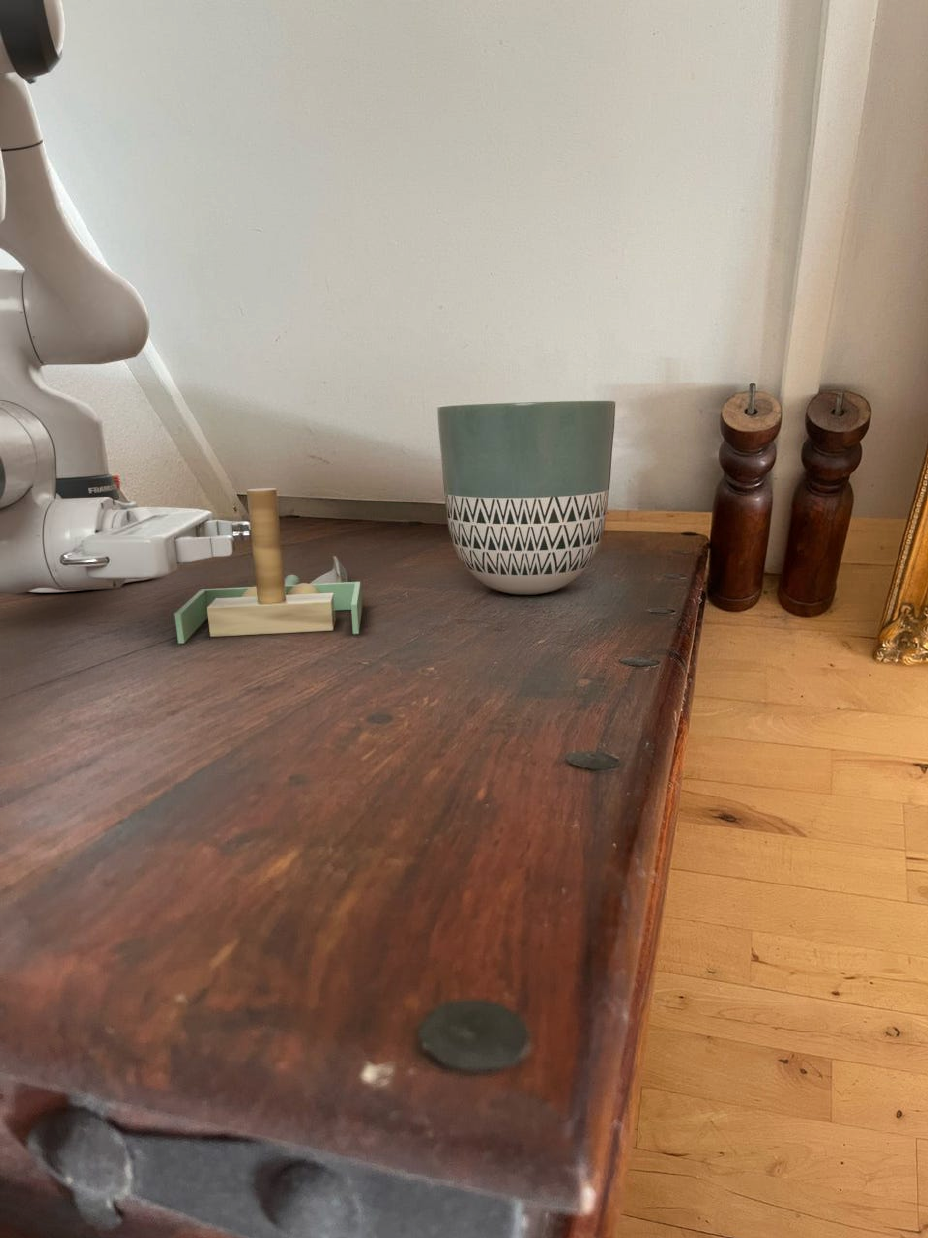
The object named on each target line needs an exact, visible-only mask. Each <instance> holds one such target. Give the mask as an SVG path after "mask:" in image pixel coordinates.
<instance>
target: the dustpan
mask: <svg viewBox="0 0 928 1238" xmlns="http://www.w3.org/2000/svg"><path fill="white" fill-rule="evenodd" d="M298 584H301V582H300V579H299V577H298V576H297V575H295V574H289V575H287V576H285V588H286V595H288V593H289V591H290V590H291V589H292V588H293V587H294V586H296V585H298ZM309 584H310V583H309ZM310 585H313V586H314V587H315V588H316V589H317V590H318V591H319V593H334V602H335V611H350V613H351V614H350V615H351V630H352V635H359V634H360V627H361V619H362V611H363V602H362V601H363V600H362V586H361V581H348V582H344V583H324V584H310ZM251 587H252V586H246V587H245V586H244V587H243V586H242V587H226V588H225V587H224V588H223V587H222V588H221V587H220V588H203V589H200V590H198V591H197V592H196V593H195V594H194V595H193V596H192V597H191V598H190V599H189V600H188V601H186V603H184V604H183V605H182V606H181V607H180V608H179V609H178V610H176V612H174V613H173V616H174V621H175V622H174V624H175V631H176V632H175V633H176V639H177V644H178V645H182V644H185V643H187V641H188V640H189V639H190V638H191V636H193V634H194V633H196V632H197V630H198V629H199V628H200V627H201V626H202V625H203V624H204V622H205V621H206V620H208V615H207V607H208V606H209V605H210V604H211V603H212V602H213V601H214V600H215V599H216V598H234V597H242V595H243V593H244V592H245V591H246V590H247V589H249V588H251Z"/></svg>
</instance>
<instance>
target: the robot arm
mask: <svg viewBox="0 0 928 1238" xmlns="http://www.w3.org/2000/svg"><path fill="white" fill-rule="evenodd" d="M63 7H64V6H63V3H62V0H0V249H1V250H2V251H4V252H6V253H7V254H9V256H11V257H12V258H14V259H15V260H16V261H17V262H18V263H19V264H20V265H21V267H22V268H23V269H5V268H0V594H1V595H2V594H22V593H67V592H78V591H89V590H90V591H91V590H94V591H95V590H112V589H113V590H114V589H120V588H121V587H122V586H123V585H124V584H126V583H127V584H128V583H134V582H140V581H146V580H151V579H157V578H163V577H167V576H170V575H171V574H172V573H174V572H175V571H177V570H178V569H179V568H181V567H182V566H183V565H185V564H186V563H193V562H197V561H202V560H206V559H211V558H225V557H230V556H231V555H233V554H234V553H235V551H236V546H235V542H238V541H248V540H249V539H251V529H250V521H246V520H245V521H233V520H232V521H231V520H225V519H223V520H222V519H215V518H214V514H213V512H212V511H210V510H206V509H202V508H201V509H200V508H192V507H189V508H188V507H168V506H138V503H137V501H134V500H133V501H132V500H131V501H130V500H129V501H127V500H125V501H119V500H120V495H119V490H120V489H121V480H120V478H119V475H117V474H115V475H112V474H111V473H110V467H109V462H108V456H107V448H106V442H105V435H104V428H103V423H102V419H101V418H100V416H99V415H98V413H97V412H96V411H95V409H93V407H91V406H90V405H89V404H87V403H86V402H84V401H82V400H80V399H78V398H77V397H74V396H72V395H70V394H67V393H65V392H62V391H60V390H58V389H54V388H53V387H52V386H50V385H49V384H48V382H47V380H46V378H45V377H44V374H43V371H42V367H43V366H57V365H58V366H61V365H62V366H63V365H64V366H65V365H66V366H70V365H71V366H73V365H74V366H75V365H105V364H110V363H116V362H120V361H124V360H129V359H133V358H136V357H137V356H138V355H139V354H141V352H142V351H143V349H144V347H145V346H146V344H147V341H148V338H149V335H150V317H149V313H148V309H147V306H146V304H145V302H144V300H143V298H142V296H141V295H140V293H139V292H138V290H137V289H136V288H135V287H134V286H133V285H132V283H130V282H129V281H128V280H127V279H125V278H124V277H122V276H121V275H119V274H117V273H116V272H114V271H113V270H112V269H110V268H109V267H108V266H106V265H105V264H104V263H102V262H101V261H100V260H99V259H98V258H97V257H96V256H95V255H94V254H93V253H92V252H91V251H90V249H88V247H87V246H86V245H85V244H84V243H83V241H82V240H81V239H80V237H79V236H78V235H77V232H76V231H75V229H74V227H72V225H71V222H70V221H69V219H68V217H67V214H66V212H65V210H64V208H63V204H62V202H61V199H60V196H59V193H58V190H57V185H56V183H55V179H54V175H53V173H52V169H51V166H50V161H49V158H48V153H47V149H46V146H45V141H44V137H43V133H42V129H41V126H40V121H39V119H38V114H37V111H36V108H35V105H34V101H33V98H32V96H31V92H30V90H29V87H28V84H29V85H32V84H34V83H37V77H41V76H45V75H46V74H49V73H51V72H52V71H53V70H54V68H55V67H56V66H57V65H58V64H59V62H60V61H61V60H62V57H63V45H64V40H65V33H66V32H65V31H66V30H65V29H66V23H65V12H64V8H63ZM27 83H28V84H27Z"/></svg>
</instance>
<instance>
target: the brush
mask: <svg viewBox="0 0 928 1238" xmlns="http://www.w3.org/2000/svg"><path fill="white" fill-rule="evenodd" d="M246 499H247V508H248V509H247V510H248V519H249V523H250V529H251V538H250V539H251V548H252V558H253V566H254V575H255V576H254V578H255V586H256V588H257V596H254V597H234V598H216V599H215V600H214V601H213V602H212V603H211V604H210V605H209V606H208V607H207V615H208V618H207V621H208V629H209V631H208V632H209V637H210V638H217V637H237V636H254V635H274V634H292V633H312V632H328V631H330V632H332V631H334V629H335V626H336V620H337V615H336V610H335V602H334V593H317V594H296V595H286V588H285V578H286V576H285V569H284V568H285V566H284V557H283V545H282V536H281V523H280V515H279V514H280V513H279V503H278V491H277V488H275V487H260V488H258V487H257V488H250V489H249V488H248V489H246Z"/></svg>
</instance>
